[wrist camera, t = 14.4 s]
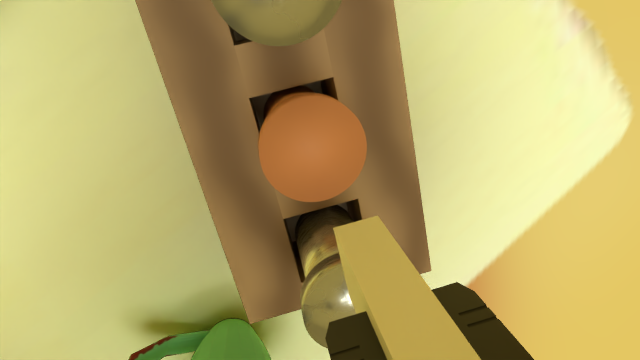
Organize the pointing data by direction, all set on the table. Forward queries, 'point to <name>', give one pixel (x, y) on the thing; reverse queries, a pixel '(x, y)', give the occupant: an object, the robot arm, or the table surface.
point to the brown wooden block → (247, 118)
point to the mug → (210, 344)
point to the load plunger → (310, 144)
